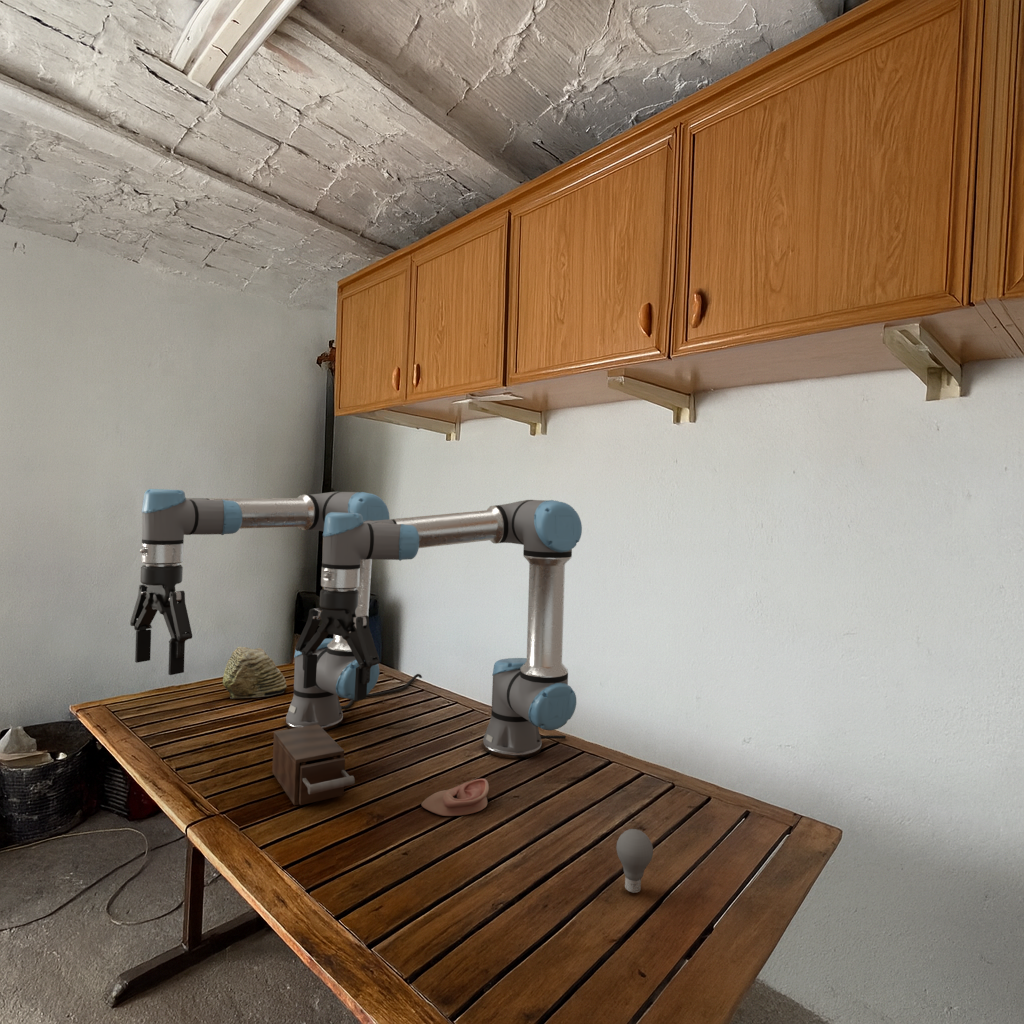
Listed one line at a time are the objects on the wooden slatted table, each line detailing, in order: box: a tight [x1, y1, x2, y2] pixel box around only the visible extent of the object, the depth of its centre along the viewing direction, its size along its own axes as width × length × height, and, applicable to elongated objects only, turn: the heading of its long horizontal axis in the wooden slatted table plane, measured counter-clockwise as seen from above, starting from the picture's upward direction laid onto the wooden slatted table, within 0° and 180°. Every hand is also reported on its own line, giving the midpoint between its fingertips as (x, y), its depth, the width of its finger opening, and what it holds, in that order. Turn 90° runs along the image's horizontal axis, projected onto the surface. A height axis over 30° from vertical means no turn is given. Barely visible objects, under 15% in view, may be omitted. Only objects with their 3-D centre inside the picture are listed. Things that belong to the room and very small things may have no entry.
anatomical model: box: [421, 778, 490, 817], centre depth 133 cm, size 13×4×12 cm
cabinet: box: [271, 724, 345, 806], centre depth 140 cm, size 18×10×10 cm, turn 34°
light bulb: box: [615, 828, 654, 894], centre depth 106 cm, size 6×6×10 cm
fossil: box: [222, 646, 288, 699], centre depth 198 cm, size 9×18×15 cm, turn 132°
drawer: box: [299, 756, 356, 806], centre depth 135 cm, size 22×9×8 cm, turn 35°
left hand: (158, 667), depth 130 cm, fingers open, 13 cm apart
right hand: (334, 693), depth 128 cm, fingers open, 13 cm apart
